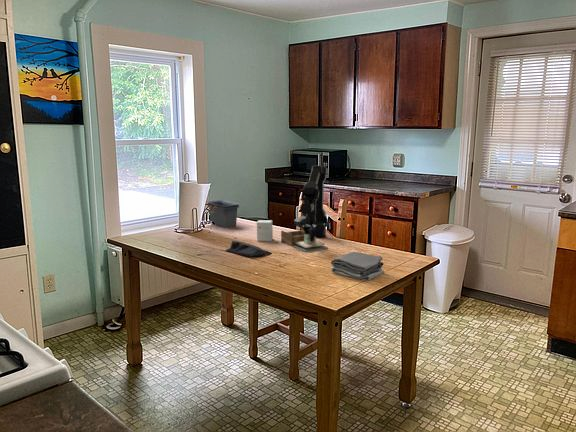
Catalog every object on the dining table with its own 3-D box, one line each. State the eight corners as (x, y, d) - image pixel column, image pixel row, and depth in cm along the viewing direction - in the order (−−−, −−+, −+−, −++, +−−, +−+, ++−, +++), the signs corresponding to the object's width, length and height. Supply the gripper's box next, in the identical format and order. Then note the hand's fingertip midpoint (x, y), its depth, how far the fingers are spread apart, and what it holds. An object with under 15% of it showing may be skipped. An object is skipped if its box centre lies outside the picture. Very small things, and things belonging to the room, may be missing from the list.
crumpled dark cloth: (248, 260, 215) (248, 250, 214) (223, 250, 232) (223, 241, 231) (274, 254, 225) (274, 245, 224) (248, 246, 241) (248, 237, 240)
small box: (272, 238, 255) (272, 220, 253) (271, 241, 249) (271, 222, 247) (258, 238, 255) (258, 220, 253) (256, 241, 250) (256, 222, 248)
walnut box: (301, 238, 254) (302, 227, 253) (313, 243, 245) (313, 231, 244) (281, 241, 248) (281, 230, 247) (291, 246, 239) (291, 234, 237)
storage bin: (242, 225, 288) (242, 203, 285) (222, 229, 278) (221, 206, 275) (222, 221, 303) (221, 199, 300) (202, 224, 293) (201, 202, 290)
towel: (349, 265, 207) (349, 248, 205) (386, 274, 195) (386, 256, 193) (329, 273, 195) (330, 256, 194) (367, 283, 184) (368, 264, 182)
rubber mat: (314, 243, 245) (314, 242, 244) (327, 248, 234) (327, 247, 234) (292, 246, 238) (292, 245, 237) (304, 252, 227) (304, 251, 227)
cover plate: (313, 240, 243) (313, 231, 242) (324, 245, 234) (324, 234, 233) (295, 243, 237) (295, 233, 236) (306, 247, 229) (306, 237, 228)
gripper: (287, 209, 236) (287, 239, 239) (306, 215, 220) (306, 247, 223) (305, 207, 242) (305, 236, 245) (325, 213, 226) (325, 244, 229)
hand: (309, 240), depth 235 cm, fingers closed on cover plate, 3 cm apart
